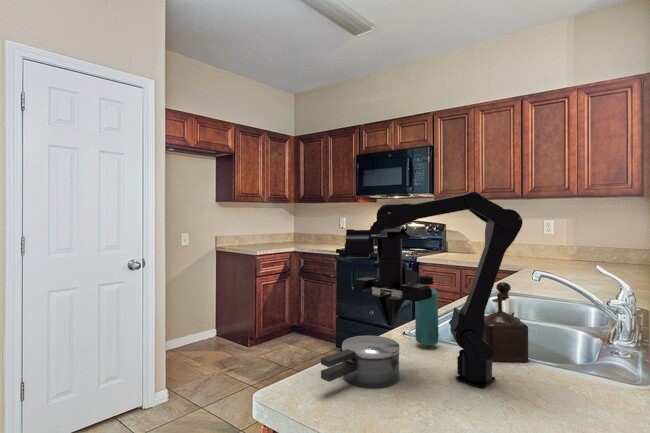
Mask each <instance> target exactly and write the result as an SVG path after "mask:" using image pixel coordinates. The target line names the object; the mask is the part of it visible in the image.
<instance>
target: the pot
mask: <svg viewBox="0 0 650 433" xmlns="http://www.w3.org/2000/svg"><path fill="white" fill-rule="evenodd" d="M341 377H342V378H343V380H344V381H345V382H346V383H348V384H349V385H352V386H354V387H357V388H363V389H384V388H388V387H392V386H394V385H396V384H397V383H399V380H400V352H399V353H398V354H397V355H395V356H393V357H389V358H384V359H363V358H357V357H355V358H352V359H350V360H347V361H344V362H342V363H339V364H336V365H334V366H331V367H327V368H325V369H322V370H320V379H322V380H324V381H326V382H328V383H329V382H332V381H335V380H337V379H339V378H341Z"/></svg>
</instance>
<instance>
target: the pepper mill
mask: <svg viewBox="0 0 650 433" xmlns="http://www.w3.org/2000/svg"><path fill="white" fill-rule="evenodd" d="M495 287H496V290H497V292H498V293H496V294H497V295H496V296H497V297H496V298H492V299H491V301H492V302H493V303H497V307H498V308H497V309H498V310H497V311H496V312H492V313H489V314H488V315H485V328H484V335H483V338H484V339H485V341H486V342H487V343H488V344H489V345H490V347H491V348H492V349H493V350H494V353H493V356H492V363H514V364H515V363H522V364H526V363H529V362H530V360H529V326H528V325H527V324H526V323H524V322H523V321H521V319H520V318H519V317H517V316H514V315H515V312H512V313H511V314H510V313H507V312H505V311H504V310H503V304H502V303H503V301H506V300H507V299H510V296H509V292H510V291H511V289H512V287H511V285H510V284H509V283H508V282H504V281H503V282H501V281H500V282H499V283H497V284H496V286H495Z"/></svg>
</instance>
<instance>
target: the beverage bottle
mask: <svg viewBox="0 0 650 433" xmlns="http://www.w3.org/2000/svg"><path fill="white" fill-rule="evenodd" d="M417 284H424V285H430V286H431V285H434V277H433V276H431V275H420V276H418V283H417ZM430 286H429V287H430ZM430 288H431V290H432V298H429V299H426V300H422V301H416V302H415V301H414V302H415V303H414V304H415V306H414V307H415V309H414V311H415V312H414V323H415V330H414V332H415V334H414V336H415V339H414V340H416V343H418V344H421V345H426V346H427V345H429V346H430V345H436V344H438V343H439V339H440V338H439V337H440V335H439V324H440V323H439V322H440V321H439V306H438V301H439V300H438V295H439V293H438V291H437V290H436V289H435V288H434V287H430Z"/></svg>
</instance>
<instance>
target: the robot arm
mask: <svg viewBox="0 0 650 433" xmlns="http://www.w3.org/2000/svg"><path fill="white" fill-rule="evenodd" d="M462 211H469V212H471V213H472V215H474V216H476V217H477V218H478V219H479V220H481V221H483V222H484V223H485V229H484V248H483V251H482V253H481V256H480V259H479V263H478V265H477V268H476V271H475V274H474V277H473V280H472V282H471V285H470V287H469V288H470V289H469V292H468V295H467V298H466V300H465V303H464V304H463V305H462V307H461V308H460V309H459V308H457V307H456V306H455V307H454V308H453V313H452V317H451V319H450V320H449V322H448V324H449V326H450V328H449V330H450V333H451V335H452V337H453V338H454V340H455V342H456V344H457V345H458V346H459V347H460V348H461V349H460V350H458V356H457V357H456V358H457V359H456V360H457V361H456V362H457V363H456V365H457V366H456V367H457V375H456V377H455V380H456V381H457V382H458V381H459V382H462V383H464V384H468V385H471V386H474V387H477V388H480V389H485V388H486V387H488V386H489V385H491V384H492V383H493V382H495V381H496V377H494V376H493V362H492V356H493V353H494V350H493V349H492V348H491V347H490V345H489V344H488V343H487V342H486V341H485V339H484V338H483V335H484V328H485V316H486V315H485V313H486V312H485V311H486V309H487V306H488V302H489V300H490V297H491V295H492V294H491V293H492V292H493V289H494V285H495V283H496V279H497V276H498V274H499V271H500V268H501V264H502V262H503V259H504V256H505V253H506V252H507V249H509V248H510V247H511V245H512V244H513V243H514V242H515V239H517V236H518V235H519V233H520V231H521V229H522V226H523V218H522V217H521V214H519V213H518V211H516V210H514V209H511V208H510V209H509V208H504V207H502V206H500V205H499V204H497V203H495V202H493V201H491V200H489V199H487V198H485V197H484V196H482V195H480V193H478V192H477V191H468V192H465V193H462V194H458V195H453V196H452V195H451V196H447V197H442V198H437V199H433V200H426V201H422V202H421V201H420V202H417V203H415V202H414V203H385V204H383V205H381V206H380V207H379V209H378V210H377V213H376V221H375V222H374V223H373V225H370V229H352V228H351V229H349V228H348V229H346V230H345V243H344V257H345V259H370V257H371V255H374V254H375V240H376V257H377V258H376V260H377V261H376V262H373V268H377V277H370V276H365V277H360V278H355V280H354V281H353V284H352V290H353V292H357V293H358V292H359V293H363V292H364V291H365V290H366V289H367V290H372V294H370V296H369V297H370V298H372V299H373V300H374V302H375V303H376V306H377V307H378V309H379V311H380V313H381V315H382V317H383V319H384V321H385V323H386V325H387V326H390V327H393V326H395V325H396V322H397V319H398V315H399V313H400V310H401V307H402V305H403V304H404V302H405V301H410V302H416V301H422V300H426V299H429V298H432V290H431V288H432V287H431V288H430V286H429V285H424V284H419V283H417V281H418V277H419V276H418V274H419V273H418V272H416V271H414V270H411V269H408V268H407V262H406V261H403V239H405V240H406V239H408V240H409V239H411V235H410V234H409V233H407V232H406V230H405V228H403V227H401V226H405V225H406V224H409V223H412V222H414V221H416V220H420V219H426V218H431V217H435V216H441V215H446V214H450V213H451V214H452V213H457V212H462ZM399 227H401V228H400V230H398V231H391V230H393V229H396V228H399ZM385 230H389V231H386V235H378V234H380V233H381V232H383V231H385ZM375 234H376V235H375Z"/></svg>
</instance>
